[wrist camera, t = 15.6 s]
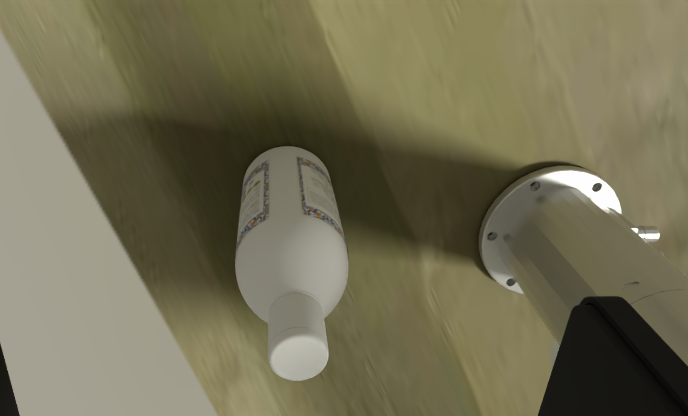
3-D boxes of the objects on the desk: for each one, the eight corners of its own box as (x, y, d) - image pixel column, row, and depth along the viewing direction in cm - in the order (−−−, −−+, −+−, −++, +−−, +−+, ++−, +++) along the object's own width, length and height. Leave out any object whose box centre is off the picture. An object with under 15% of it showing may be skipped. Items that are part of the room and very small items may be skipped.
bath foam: (249, 226, 45) (236, 420, 28) (237, 148, 42) (213, 310, 25) (333, 218, 46) (372, 402, 28) (327, 139, 43) (367, 292, 25)
